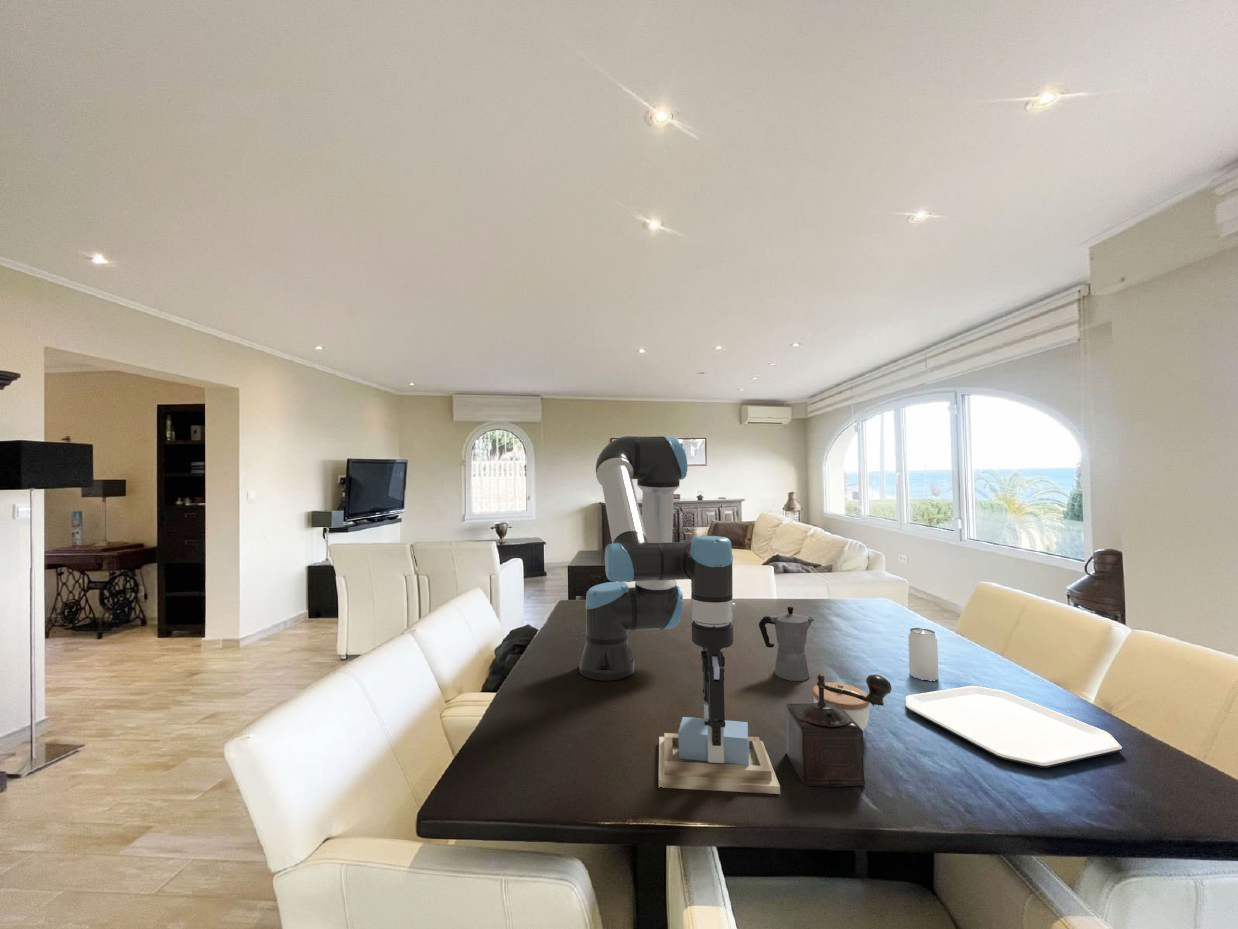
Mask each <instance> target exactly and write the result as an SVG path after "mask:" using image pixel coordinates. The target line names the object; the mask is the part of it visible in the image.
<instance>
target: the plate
mask: <svg viewBox="0 0 1238 929" xmlns="http://www.w3.org/2000/svg"><path fill="white" fill-rule="evenodd" d="M904 700H905V708H906V709H907V710H909V711H911V712H912V713H915V714H916V715H918V716H919V717H922V718H924V719H926V720H927V721H929V722H930V723H933V724H935V725H936V726H938V727H940V728H942V729H944V730H946V731H948V732H950V733H951V734H953V735H955V736H958V737H959V738H961V739H963V740H965V741H966V742H969V743H970V744H972V745H974V746H977V747H978V748H980V749H982V750H983V751H985V752H988V753H989V754H991V755H992V756H995V757H997V758H999V759H1003V760H1006V761H1011V762H1015V763H1019V764H1024V765H1029V766H1034V767H1038V768H1045V769H1047V768H1051V767H1055V766H1059V765H1063V764H1068V763H1069V764H1070V763H1073V762H1078V761H1082V760H1086V759H1090V758H1095V757H1099V756H1104V755H1109V754H1114V753H1118V752H1121V751H1122V750H1123V747H1122V745H1121V744H1120V743H1119V742H1118V741H1117V740H1116V739H1115V738H1114V737H1113V735H1112V734H1111V733H1109V732H1108V731H1106V730H1103V729H1100V728H1098V727H1096V726H1093V725H1090V724H1088V723H1086V722H1083V721H1081V720H1078V719H1076V718H1073V717H1071V716H1068V715H1066V714H1063V713H1061V712H1059V711H1055V710H1053V709H1051V708H1048V707H1045V706H1043V705H1040V704H1038V703H1035V702H1032V701H1030V700H1028V699H1026V698H1022V697H1020V696H1018V695H1015V694H1013V693H1010V692H1007V691H1005V690H1002V689H995V688H990V687H984V686H979V685H969V686H961V687H954V688H947V689H941V690H934V691H928V692H922V693H920V692H919V693H915V694H908V695H906V696H905V697H904Z"/></svg>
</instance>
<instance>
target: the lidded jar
mask: <svg viewBox="0 0 1238 929" xmlns="http://www.w3.org/2000/svg"><path fill="white" fill-rule="evenodd" d="M824 683H825V685H827V686H830V687H835V688H840V689H845V690H849V691H853V692H856V693H858V694H861V695H863V696H865V697H866V696H867V695H868V694H869V693H867V692H865V691H864V690H862V689H860V687H859V688H858V687H856V686H853V685H850V684H846V683H841V682H824ZM812 695H813V703H817V702H818V701H819V687H818V686H817V684H816V685H814V686H813V687H812ZM824 702H825V703H826V704H838V705H839V706H840V707H841V708H842V709H843V710H844V711H845V712H846V713H847V714H848V715H849V716H850V717H851V718H852V719H853V720H854V721H855V722H856V724H857V725H858V726H859V727H860V728H861V729H862V731H864V730H865V728H866V726H867V724H868V722H869V717H870V704H871V703H870V702H865V701H863V700H861V699H858V698H856V697H852V696H849V695H845V694H840V693H835V692H831V691H828V690H826V689H824Z"/></svg>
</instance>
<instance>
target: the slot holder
mask: <svg viewBox="0 0 1238 929" xmlns="http://www.w3.org/2000/svg"><path fill="white" fill-rule="evenodd" d="M663 734H664V736H658V738H659V739H658V741H659V742H658V788H660V787H662V788H661V789H663V788H664V789H678V790H681V789H682V790H697V791H698V790H700V791H701V790H702V791H715V792H716V791H717V792H721V791H722V792H740V793H757V794H776V795H781V785H780V783H779V780H778V777H777V775H776V772H775V770H774V768H773V765H772V762H771V759H770V757H769V754H768V752H767V750H766V749H767V748H766V746H765V744H764V741H763V740H761V738H760V737H759V736H748V737H749V766H748V765H738V764H729V763H711V762H708V761H701V760H692V759H682V758H679V740H678V733H673V732H664V733H663Z"/></svg>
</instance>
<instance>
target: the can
mask: <svg viewBox="0 0 1238 929" xmlns="http://www.w3.org/2000/svg"><path fill="white" fill-rule="evenodd" d="M907 637H908V664H909V665H908V667H909V669H908V670H909V674H910V676H911V675H912V676H913V677H912V676H911V677H912V678H914V677H915V679H916V678H919V679H923V680H936V681H938V679H939V654H938V653H939V651H938V650H939V648H938V638H937V636H936V632H935V631H934V630H932V629H928V628H923V627H911V628H910V629H909V633H908V636H907ZM919 679H918V680H919ZM923 680H922V681H923Z"/></svg>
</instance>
